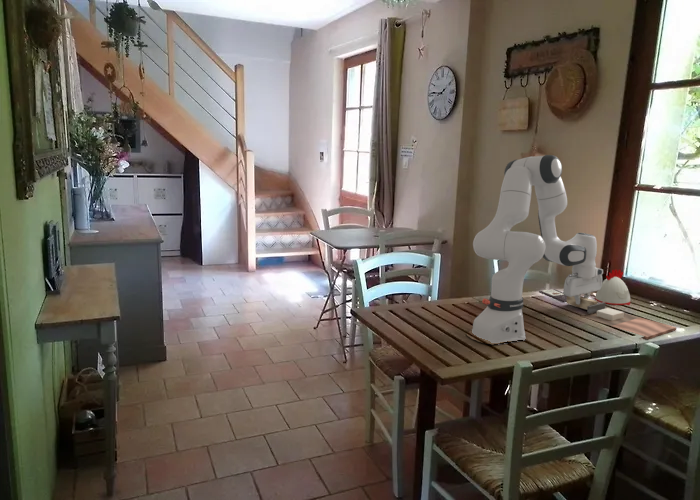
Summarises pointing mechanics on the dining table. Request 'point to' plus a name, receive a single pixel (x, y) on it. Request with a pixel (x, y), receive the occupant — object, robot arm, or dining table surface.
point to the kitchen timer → (613, 290)
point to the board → (635, 325)
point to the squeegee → (586, 304)
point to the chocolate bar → (555, 294)
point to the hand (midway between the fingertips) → (581, 303)
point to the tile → (610, 314)
